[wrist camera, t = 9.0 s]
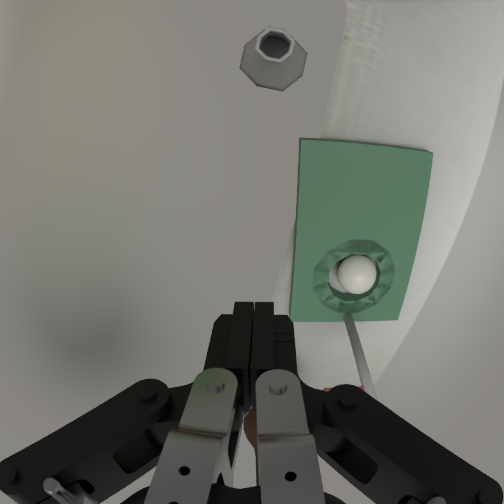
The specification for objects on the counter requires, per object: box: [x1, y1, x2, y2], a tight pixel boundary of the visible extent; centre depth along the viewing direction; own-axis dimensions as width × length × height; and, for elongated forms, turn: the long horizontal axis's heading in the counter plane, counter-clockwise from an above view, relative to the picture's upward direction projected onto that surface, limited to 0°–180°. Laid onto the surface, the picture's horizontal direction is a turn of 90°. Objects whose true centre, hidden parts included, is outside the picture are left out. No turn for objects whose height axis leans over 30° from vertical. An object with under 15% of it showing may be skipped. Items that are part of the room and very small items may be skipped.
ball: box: [338, 254, 376, 294], centre depth 39 cm, size 5×5×5 cm
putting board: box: [289, 138, 433, 400], centre depth 31 cm, size 24×16×18 cm, turn 0°
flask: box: [240, 27, 307, 91], centre depth 26 cm, size 7×7×10 cm
